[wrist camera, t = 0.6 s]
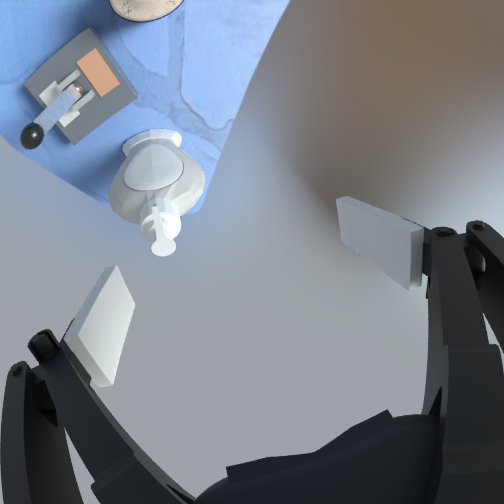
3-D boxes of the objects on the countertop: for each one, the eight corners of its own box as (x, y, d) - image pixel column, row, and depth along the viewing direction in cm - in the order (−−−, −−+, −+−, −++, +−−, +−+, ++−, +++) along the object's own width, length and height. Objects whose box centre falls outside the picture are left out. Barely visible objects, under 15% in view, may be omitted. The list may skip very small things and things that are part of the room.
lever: (78, 99, 29) (27, 158, 22) (67, 85, 26) (12, 141, 19) (91, 89, 28) (39, 147, 21) (80, 74, 25) (23, 129, 18)
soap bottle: (188, 108, 39) (227, 194, 24) (190, 149, 45) (228, 252, 30) (109, 123, 36) (85, 224, 21) (117, 164, 42) (110, 278, 27)
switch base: (77, 137, 35) (70, 152, 32) (30, 79, 24) (17, 87, 21) (137, 93, 34) (136, 102, 31) (92, 26, 23) (84, 27, 20)
